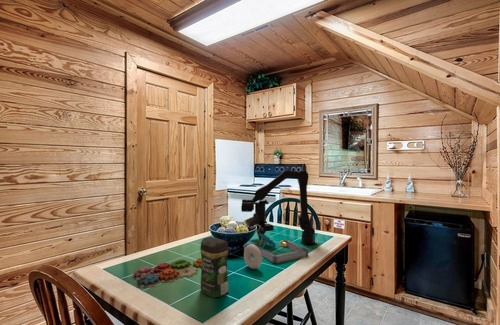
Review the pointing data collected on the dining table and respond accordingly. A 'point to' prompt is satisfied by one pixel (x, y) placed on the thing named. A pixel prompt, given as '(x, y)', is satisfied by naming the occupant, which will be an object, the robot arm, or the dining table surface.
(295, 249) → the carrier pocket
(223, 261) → the coffee jar
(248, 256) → the donut
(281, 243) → the gold rounded dome
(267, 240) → the gear
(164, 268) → the gear puzzle
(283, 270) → the dining table surface
